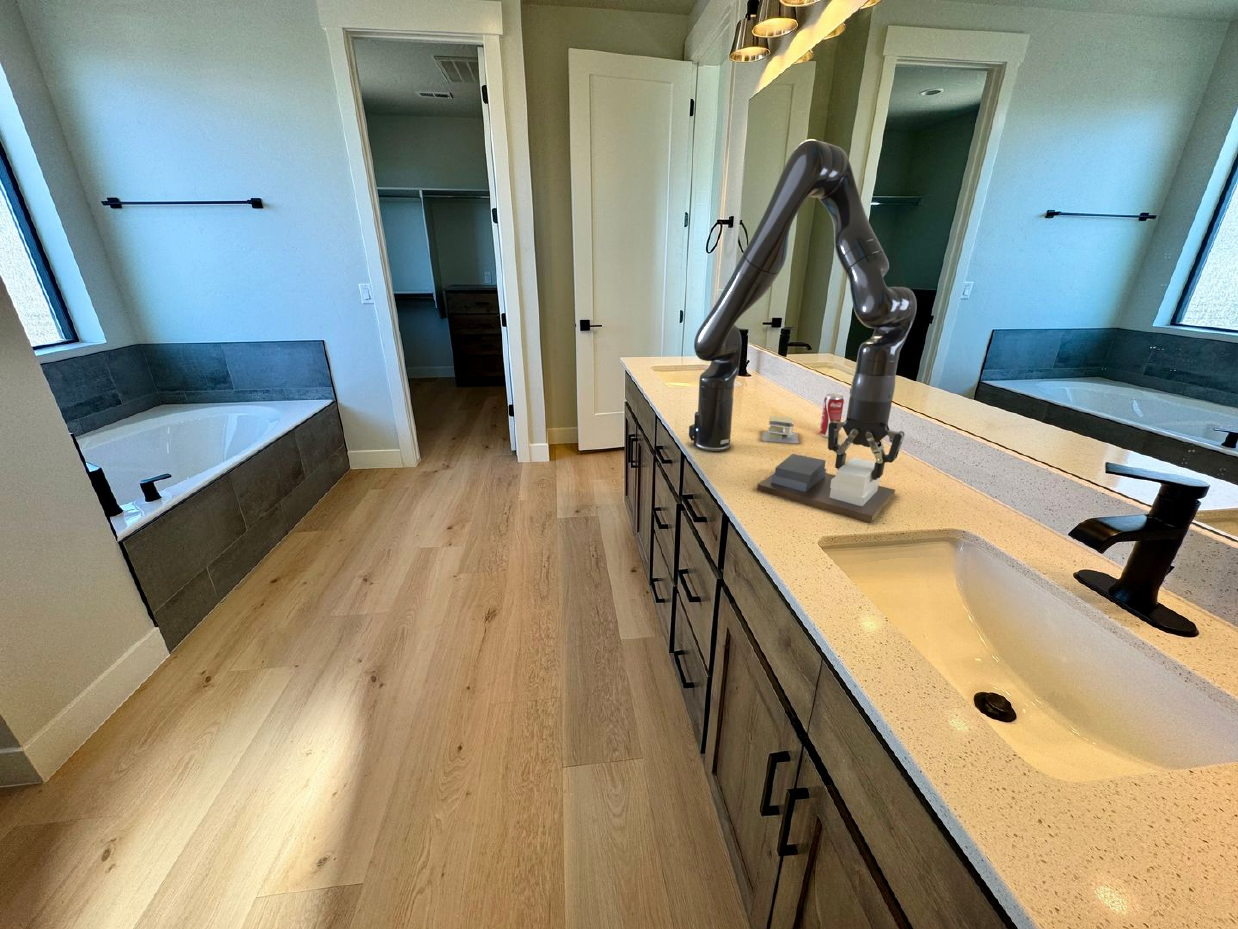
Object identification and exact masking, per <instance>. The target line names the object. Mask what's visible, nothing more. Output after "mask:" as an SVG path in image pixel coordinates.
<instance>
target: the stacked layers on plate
mask: <svg viewBox="0 0 1238 929" xmlns="http://www.w3.org/2000/svg"><path fill="white" fill-rule="evenodd" d="M795 422H796V421H795V420H794V419H793V418H792V417H789V416H769V421H768V425H769V427H768V431H762V437H761V441H762V442H773V443H786V444H799V443H800V442H799V434H798V433H795V432H794V431H793V430H794V428H795V424H793V423H795Z"/></svg>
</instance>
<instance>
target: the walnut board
mask: <svg viewBox="0 0 1238 929" xmlns="http://www.w3.org/2000/svg"><path fill="white" fill-rule="evenodd" d="M774 473H775V472H773V473H772V474H774ZM772 474H771V475H769V476H767V477H766V478H764V479H763V480H760V482H758V483H757V485H756V491H758V492H762V493H765V494H770V495H773V496H776V497H780V498H784V499H787V500H791V501H794V502H798V503H801V504H803V505H804V504H805V505H806V506H811V507H815V508H818V509H822V510H825V511H828V512H832V513H834V514H840V515H843V516H846V517H849V518H852V519H856V520H860V521H864V522H866V523H870V524H871V523H873V521H874V520H875V519H876V518H877V517H878V515H880V513H881V512H882V511H883V510H884V508H885V507H886V506H887V505H888V504H889V502H890V501H891V500H892V499H893V498H894V496H895V493H896V489H894V488H890V487H887V486H881V485H878V490H877V491H876V493H875V494H874V495H873V496H872V497H871V498H870V499H869V500H868V501H867V502H866V503H865V504H864V505H863V506H859V505H855V504H851V503H847V502H844V501H840V500H836V499H833V498H830V492H831V489H832V488H830V486H831V479H833V478H834V477H836V474H833V473H828V472H826V475H825V477H824V478H823V479H822V480H821V481H819V482H818V483H817V484H816V485H814V486H813V487H812V488H811V489H809V490H808V491H807V492H803V491H800V490H796V489H792V488H789V487H785V486H781V485H778V484H774V483H771V478H772Z"/></svg>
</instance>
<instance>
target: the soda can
mask: <svg viewBox="0 0 1238 929" xmlns="http://www.w3.org/2000/svg"><path fill="white" fill-rule="evenodd" d="M844 402H845V399H844V395H843V394H840V393H826V394H825V397H824V399H823V405H822V412H821V418H820V427H819V435H820V436H821V437H823V438H828V426H829V423H831V422H832V421H834V420H837V421H838V422H842V415H843V408H844ZM839 434H840V431H839V432H838V436H839Z"/></svg>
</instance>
